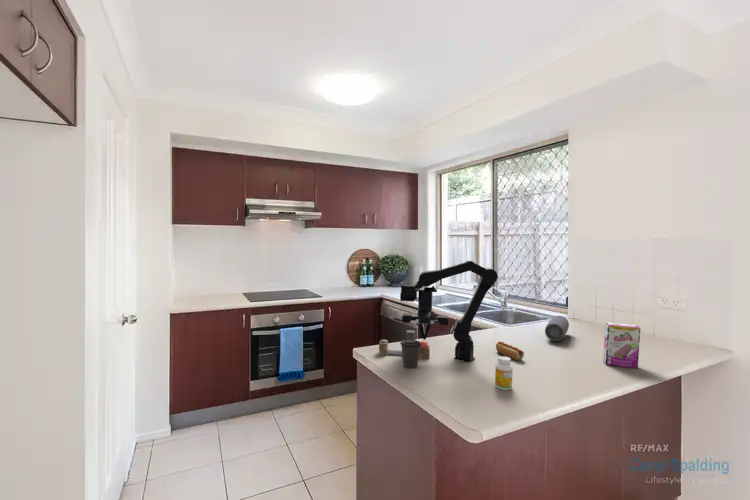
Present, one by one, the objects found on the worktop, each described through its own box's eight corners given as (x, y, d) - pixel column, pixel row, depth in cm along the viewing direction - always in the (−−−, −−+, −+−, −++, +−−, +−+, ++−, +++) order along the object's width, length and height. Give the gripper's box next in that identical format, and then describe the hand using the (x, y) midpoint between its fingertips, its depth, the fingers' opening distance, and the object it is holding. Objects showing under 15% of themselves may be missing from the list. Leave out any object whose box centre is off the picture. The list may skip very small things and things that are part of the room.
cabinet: (429, 354, 155) (429, 345, 155) (429, 358, 150) (429, 349, 150) (418, 354, 156) (418, 344, 155) (418, 357, 151) (418, 348, 150)
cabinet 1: (387, 351, 158) (387, 339, 157) (386, 355, 153) (386, 342, 152) (380, 351, 158) (380, 338, 158) (378, 355, 153) (379, 341, 153)
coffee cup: (419, 371, 136) (420, 344, 135) (398, 369, 137) (398, 342, 137) (421, 363, 144) (422, 338, 143) (401, 362, 145) (401, 337, 145)
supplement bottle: (492, 383, 126) (493, 355, 125) (507, 383, 126) (508, 355, 126) (498, 390, 120) (499, 361, 120) (514, 390, 121) (515, 360, 120)
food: (492, 352, 161) (493, 341, 161) (502, 351, 163) (503, 339, 163) (516, 362, 148) (516, 350, 148) (526, 361, 150) (527, 349, 150)
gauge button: (427, 350, 154) (427, 341, 154) (427, 352, 151) (427, 343, 151) (420, 350, 154) (420, 340, 154) (420, 352, 151) (420, 342, 151)
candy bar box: (605, 365, 146) (607, 324, 146) (602, 361, 151) (604, 321, 150) (638, 369, 143) (641, 327, 142) (634, 365, 147) (636, 324, 147)
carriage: (416, 353, 156) (416, 329, 156) (415, 357, 150) (416, 333, 150) (404, 352, 157) (405, 329, 157) (403, 356, 151) (404, 332, 151)
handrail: (418, 355, 154) (418, 351, 154) (418, 356, 152) (418, 352, 152) (387, 353, 156) (387, 349, 156) (386, 354, 154) (386, 350, 154)
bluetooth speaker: (564, 345, 173) (565, 324, 173) (543, 341, 178) (544, 321, 178) (569, 334, 192) (570, 315, 192) (550, 331, 197) (550, 313, 197)
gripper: (401, 304, 145) (400, 343, 146) (449, 306, 142) (448, 346, 143) (403, 299, 156) (402, 336, 157) (447, 301, 153) (446, 338, 154)
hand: (424, 339), depth 152 cm, fingers closed
